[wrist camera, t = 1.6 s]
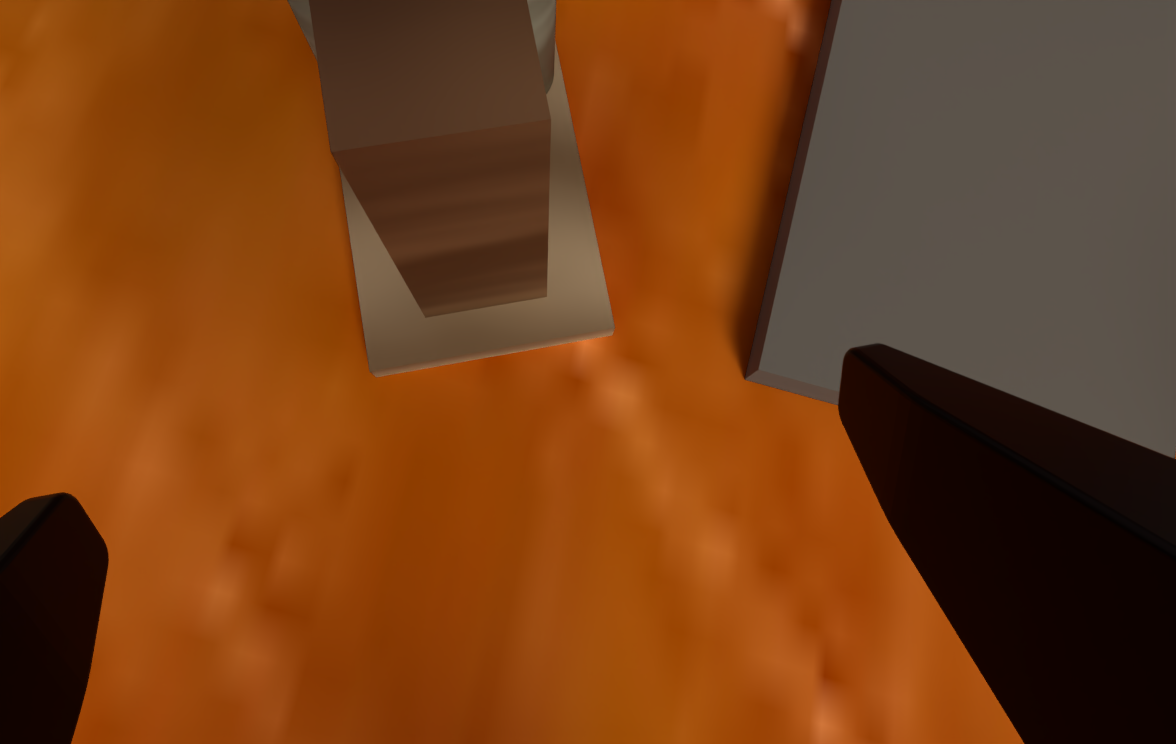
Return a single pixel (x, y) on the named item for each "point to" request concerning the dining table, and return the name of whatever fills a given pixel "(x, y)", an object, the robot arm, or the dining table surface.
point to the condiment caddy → (457, 178)
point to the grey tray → (988, 206)
